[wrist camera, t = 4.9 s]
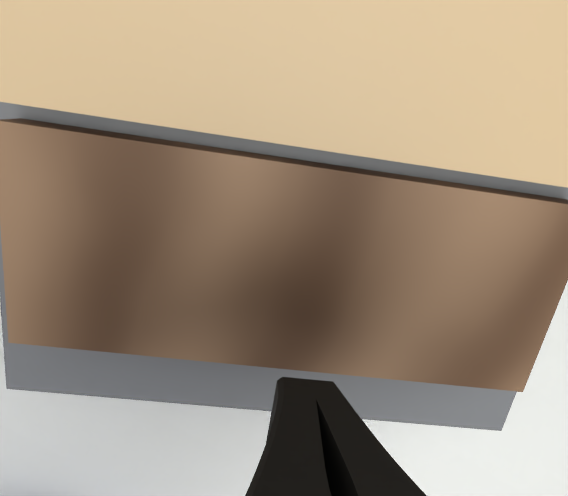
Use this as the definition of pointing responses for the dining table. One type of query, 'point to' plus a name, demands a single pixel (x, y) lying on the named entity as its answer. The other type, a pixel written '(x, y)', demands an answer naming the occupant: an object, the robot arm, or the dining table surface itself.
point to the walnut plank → (272, 260)
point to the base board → (296, 135)
